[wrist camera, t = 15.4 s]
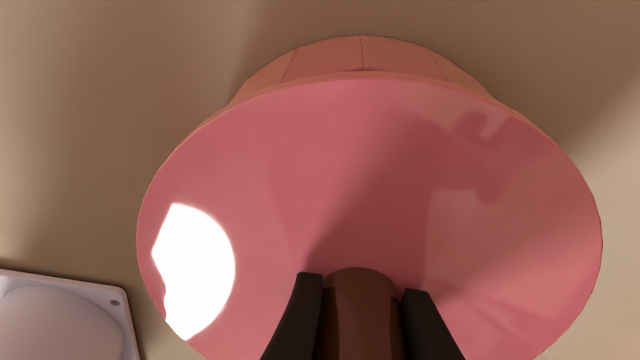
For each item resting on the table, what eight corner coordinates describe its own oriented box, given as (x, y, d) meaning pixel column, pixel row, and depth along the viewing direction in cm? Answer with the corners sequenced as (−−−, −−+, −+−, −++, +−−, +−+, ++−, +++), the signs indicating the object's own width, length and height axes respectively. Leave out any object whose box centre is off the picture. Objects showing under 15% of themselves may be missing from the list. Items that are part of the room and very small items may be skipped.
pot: (447, 298, 19) (467, 371, 16) (213, 261, 19) (184, 329, 16) (567, 68, 13) (644, 114, 9) (209, 5, 12) (158, 30, 9)
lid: (476, 397, 16) (537, 621, 10) (168, 351, 15) (78, 560, 10) (695, 114, 8) (1229, 385, 3) (124, 15, 8) (-266, 147, 3)
